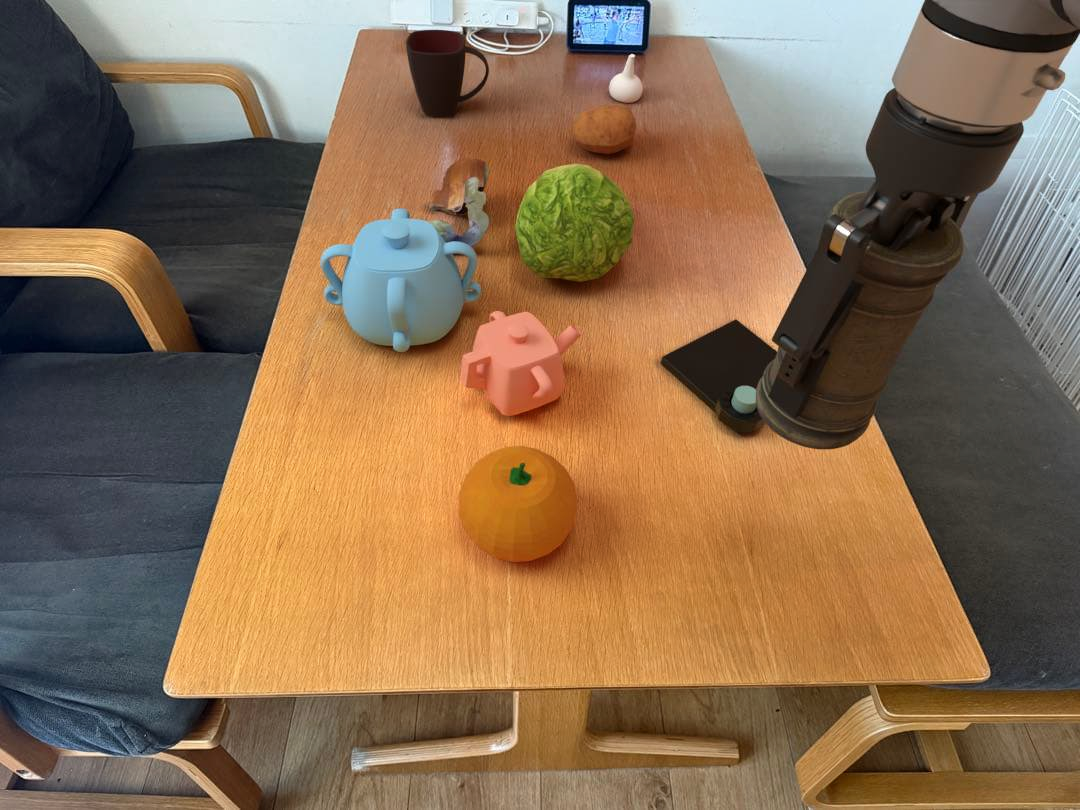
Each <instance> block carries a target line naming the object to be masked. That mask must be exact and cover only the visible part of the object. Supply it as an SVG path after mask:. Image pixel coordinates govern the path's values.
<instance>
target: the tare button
mask: <svg viewBox="0 0 1080 810" xmlns="http://www.w3.org/2000/svg"><path fill="white" fill-rule="evenodd" d="M731 404H732V407H733V408H734V409H735V410H736V411H738V412H740V413H744V414H749V413H752V412H753V411H754V410H755V409H756V389H754V388H752V387H750V386H740V387H738V388H737V389H736V390H735V392H734V395H733V398H732V401H731Z"/></svg>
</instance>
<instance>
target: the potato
mask: <svg viewBox="0 0 1080 810" xmlns="http://www.w3.org/2000/svg"><path fill="white" fill-rule="evenodd" d="M570 127H571V128H570V129H571V130H570V135H571V137H572V138H573V140H574V141H575V143H576V144H577V145H578V147H580V148H581V149H583V150H585V151H588V152H591V153H597V154H603V155H604V154H605V155H609V154H614V153H617V152H620V151H622V150H625V149H626V148H628V147H630V146H631V145H632V144H633V143H634V139H635V135H636V132H637V127H638V126H637V121H636V118H635V116H634V113H633V111H632V110H631V108H630V106H628V105H626V104H623V103H613V104H605V105H600V106H599V105H598V106H596V107H594V108H591V109H587V110H584V111H581V112H580V113H579V114H577V115H576V116H575V117H574V118H573V120H572V122H571V126H570Z"/></svg>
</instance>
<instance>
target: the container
mask: <svg viewBox="0 0 1080 810" xmlns="http://www.w3.org/2000/svg"><path fill="white" fill-rule="evenodd" d="M868 191H869V190H868ZM868 191H859V192H855V193H851V194H849V195H847V196H844V197H843V198H842V199H840V200H839V201H838V202H836V203H835V205H834V206H833V207H832V208H831V210H830V212H829V213H828V216H827V220H828V219H829V218H830V217H831V216H832V215H834V214H838V215H839V216H841V217H843V218H844V219H846V220H848V219H850V218H851V217H853V216H854V215H856V214H857V213H858V210H859V205H860V203H861V202H862V200H863V198H864V197H865V195H866V194H867V192H868ZM963 236H964V235H963V233H962V231H961V229H959V227H958V226H957V225H956V223H955V222H954V221H953V220H952V219H951V218H950V217H949V218H948V219H947V222H946V225H944V226H943V227H941V228H939V229H937V230H936V231H934V232H933V231H931V230H930V229H928V228H927V227H926V228H925V230H924V231H923V232H922V234H921V235H920V236H919V237H918V238H917V239H915V240H913V241H911V242H910V244H909V245H908V246H907V247H905V248H903V249H901V250H899V251H897V252H894V251H892V250H890V249H889V247H890V246H882V245H878V244H876V243H875V242H873V241H872V240H870V241H869V243H868V244H869V245H871V249H870V251H869V252H868V253H866V254H865V255H864V257H863V260H862V262H861V264H860V266H859V268H858V270H857V272H856V274H855V276H854V277H853V279H852V280H854V281H856V282H858V283H861V284H863V283H864V282H865V283H864V284H863V285H864V286H863V288H862V290H861V292H860V294H859V296H858V298H857V300H856V302H855V303H854V305H853V306H852V308H851V312H850V314H849V316H848V318H847V319H846V321H845V322H844V324H843V325H842V327H841V328H840V329H839V331H838V332H837V334H836V335H835V337H834V338H833V339H832V341H831V342H830V344H829V345H828V346H827V348H826V350H827V351H828V352H830V355H829V357H828V360H827V362H826V364H825V366H824V368H823V370H822V372H821V374H820V376H819V378H818V380H817V383H816V385H815V387H814V389H813V391H812V393H811V395H810V397H809V399H808V401H807V403H806V406H805V408H804V410H803V412H802V414H801V415H800V416H798V417H796V418H793V417H792V416H791V415H790V414H789V413H787V412H786V411H785V410H784V409H783V408H781V407H780V406H779V405H778V404H777V403H775V402H774V401H773V400H772V399H771V398H769V397H768V395H769V393H770V390H771V388H772V386H773V383H774V381H775V378H776V376H777V373H778V371H779V369H780V366H781V364H782V361H783V359H784V357H785V354H786V352H785V351H784V350H783V349H781V348H780V347H779V346H777V350H776V351H777V355H776V358H775V359H774V360H773V361H772V362H771V363H770V364H769V365H768V366H767V368H766V369H765V371H764V374H763V376H762V378H761V379H760V381H759V383H758V385H757V388H756V406H757V409H758V412H759V414H760V416H761V417H762V419H763V420H764V424H766V426H767V427H768V428H769V429H771V430H772V432H774V433H775V434H777V436H779V437H781V438H782V439H784V440H786V441H788V442H790V443H793V444H795V445H797V446H800V447H803V448H808V449H812V450H837V449H840V448H844V447H847V446H849V445H851V444H853V443H854V442H855V441H857V440H858V439H859V438H861V437H862V436H863V434H865V432H866V431H867V429H868V428H869V426H870V424H871V420H872V418H873V417H874V415H875V413H876V411H877V406H878V400H877V399H878V397H879V396H880V394H881V393H882V391H883V390H884V389H885V387H886V386H887V383H888V379H889V375H890V373H891V371H892V369H893V367H894V365H895V364H896V361H897V359H898V358H899V356H900V355H901V352H902V351H903V349H904V347H905V345H906V344H907V342H908V340H909V338H910V337H911V335H912V333H913V332H914V330H915V328H916V326H917V324H918V322H919V321H920V319H921V317H922V315H923V313H924V312H925V311H926V309H927V308H928V307H929V306H930V304H931V303H932V301H933V299H934V293H935V289H936V288H937V286H938V284H939V283H940V282H942V281H943V280H944V279H945V278H946V276H947V275H948V273H949V272H951V270H953V269H954V268H955V267H957V265H958V263H960V261H961V258H962V256H963V253H964V237H963Z"/></svg>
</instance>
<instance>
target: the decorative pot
mask: <svg viewBox="0 0 1080 810" xmlns="http://www.w3.org/2000/svg"><path fill="white" fill-rule="evenodd" d="M427 221H428V220H425V219H419V218H411V214H410V211H409V210H408V209H406V208H401V207H399V208H395V209H393V210H392V212H391V216H390V218H386V219H385V218H384V219H378V220H373V221H371V222H368V223H366V224H365V225H364V226H363V227H362V228H361V229H360V230H359V232H358V234H357V235H356V237H355V240H354V242H353V244H352V245H351V244H345V243H338V244H333V245H331V246H329V247H327V248H326V249H325V250H324V251H323V252H322V254H321V256H320V267H321V270H322V273H323V275H324V277H325V278H326V280H327V281H328V283H329V284H328V285H327V286H325V288H324V291H323V296H324V297H323V298H324V299H325V301H326V303H328V304H330V305H333V306H336V307H337V306H338V307H339V306H342V308H343V309H342V310H343V313H344V316H345V318H346V320H347V322H348V324H349V326H350V327H351V329H352V330H353V332H355V333H356V334H357V335H358V336H359V337H361V338H362V339H364V340H365V341H367V342H369V343H370V344H371V343H372V344H374V345H379V346H390V347H392V348H393V350H394V351H396V352H399V353H405V352H406V351H408V350H409V348H410V346H418V345H425V344H426V345H427V344H431V343H434V342H437V341H439V340H441V339H442V338H443V337H445V336H446V335H447V334H448V333H450V331H451V330H452V329H453V328H454V326H455V325H456V324H457V321H458V320H459V318H460V316H461V313H462V310H463V307H464V302H468V303H472V302H474V301H477V300H478V299H479V298H480V297H481V294H482V287H481V285H480V283H478V282H477V281H473V278H474V275H475V272H476V271H477V267H478V266H477V265H478V256H477V253H476V251H475V250H474V248H473V246H471V247H470V246H469V245H467V244H465V243H462V242H457V241H453V242H448V243H446V242H445V241H444V239H443V238H442V236H441V234H440V233H439V232H438V231H437V229H436V228H435V227H434V226H433V225H432V224H431V223H429V222H430V221H429V222H427ZM455 253H456V254H458V255H463V256H466V257H467V258H468V262H467V266H466V269H465V271H464V274H463V276H461V272H460V269H459V265H458V263H457V261H456V258H455V256H454V255H456V254H455ZM336 257H343V258H347V259H346V262H345V266H344V269H343V276H342V280H341V278H340V277H339V275H338V274H337V273H336V271H335V270H334V268H333V266H332V263H331V261H330V260H331V259H333V258H336ZM335 292H336V293H335Z"/></svg>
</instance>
